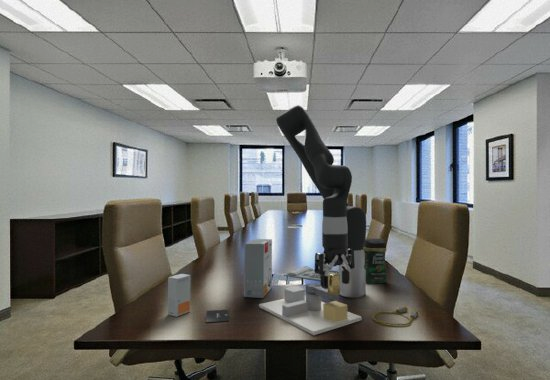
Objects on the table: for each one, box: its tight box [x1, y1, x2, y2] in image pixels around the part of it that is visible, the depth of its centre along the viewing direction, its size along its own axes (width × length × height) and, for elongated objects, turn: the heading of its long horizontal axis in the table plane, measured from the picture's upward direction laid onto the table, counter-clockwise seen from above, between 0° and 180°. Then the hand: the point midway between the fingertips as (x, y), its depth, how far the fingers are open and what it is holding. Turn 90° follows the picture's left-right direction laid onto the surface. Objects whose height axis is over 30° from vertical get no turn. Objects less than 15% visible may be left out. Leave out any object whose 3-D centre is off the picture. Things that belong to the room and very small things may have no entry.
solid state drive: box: [205, 309, 230, 324], centre depth 106 cm, size 7×10×1 cm
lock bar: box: [305, 272, 340, 302], centre depth 106 cm, size 14×5×8 cm, turn 31°
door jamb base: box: [258, 286, 363, 336], centre depth 108 cm, size 19×28×6 cm
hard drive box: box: [243, 238, 273, 299], centre depth 132 cm, size 16×8×20 cm, turn 168°
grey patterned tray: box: [284, 266, 339, 282], centre depth 160 cm, size 23×3×20 cm
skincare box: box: [167, 273, 192, 317], centre depth 109 cm, size 6×4×12 cm
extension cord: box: [372, 306, 419, 328], centre depth 103 cm, size 12×16×2 cm
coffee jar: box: [364, 238, 388, 284], centre depth 147 cm, size 10×8×19 cm
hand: (335, 285), depth 102 cm, fingers open, 8 cm apart
